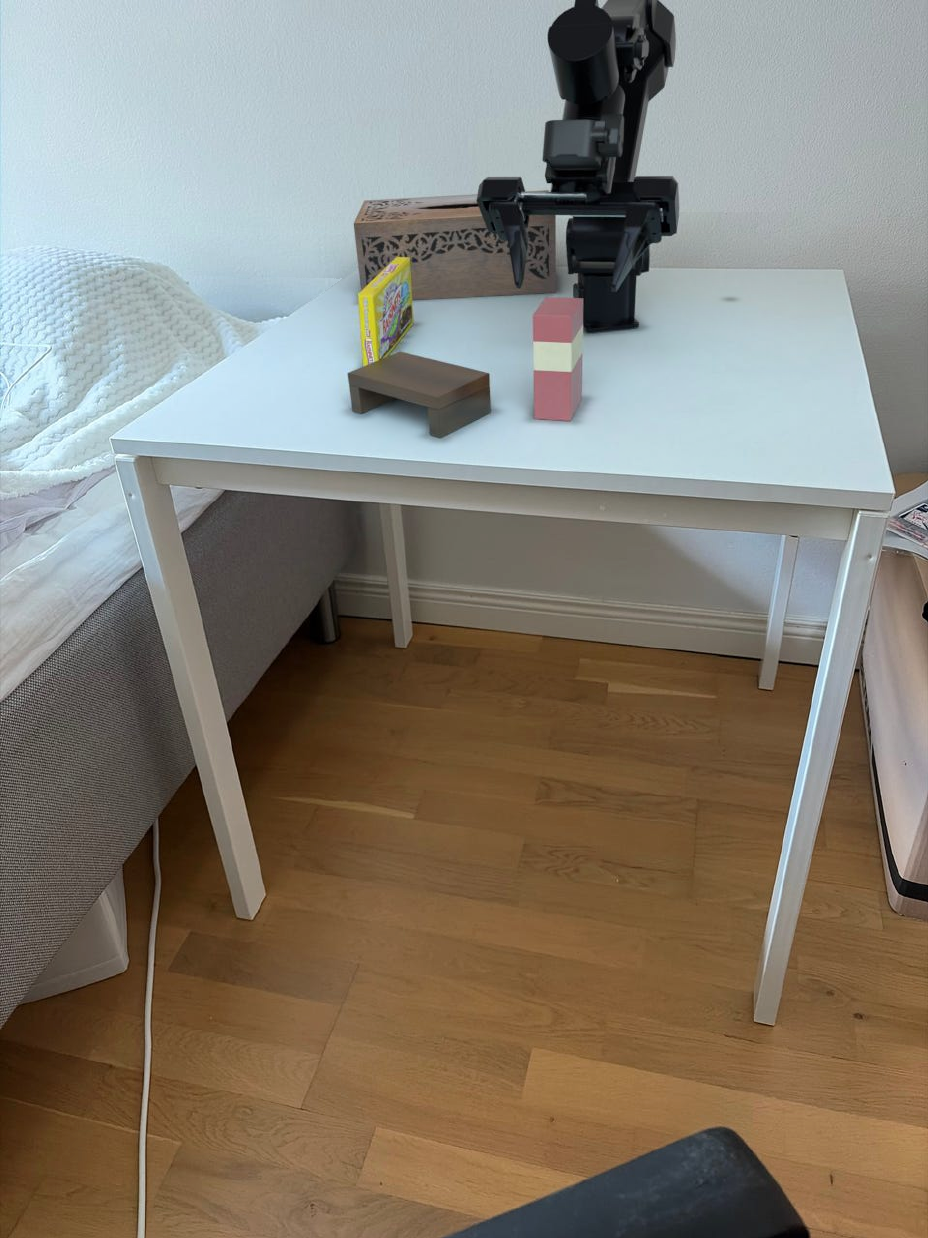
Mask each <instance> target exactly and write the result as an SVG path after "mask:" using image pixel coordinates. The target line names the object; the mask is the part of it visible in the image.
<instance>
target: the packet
mask: <svg viewBox="0 0 928 1238" xmlns="http://www.w3.org/2000/svg"><path fill="white" fill-rule="evenodd" d="M583 352H584V329H583V298H573V297H556V296H555V297H549V296H546V297H545V298H544V299H543V301H542V302H541V304H540V305H539V306H538V307H537V308H536V310H535V312H534V313H533V314H532V370H533V418H534V419H535V420H546V421H547V420H548V421H563V422H564V421H565V422H571V421H572V420H573V418H574V415H576V414H575V413H576V412H577V410H578V408H579V406H580V403H581V402H582V400H583V356H584V355H583Z"/></svg>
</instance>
